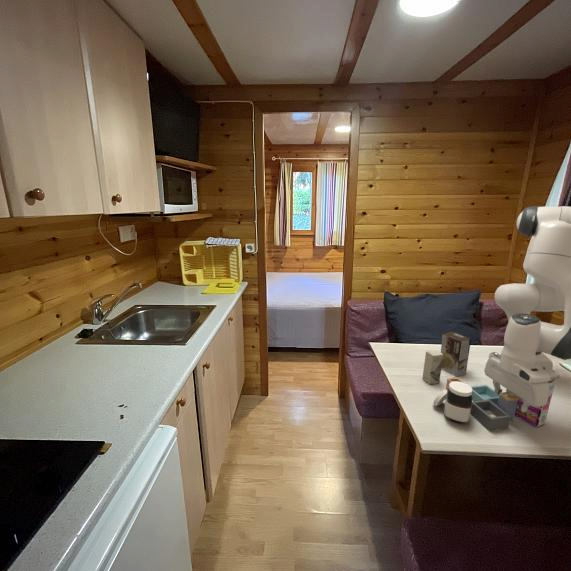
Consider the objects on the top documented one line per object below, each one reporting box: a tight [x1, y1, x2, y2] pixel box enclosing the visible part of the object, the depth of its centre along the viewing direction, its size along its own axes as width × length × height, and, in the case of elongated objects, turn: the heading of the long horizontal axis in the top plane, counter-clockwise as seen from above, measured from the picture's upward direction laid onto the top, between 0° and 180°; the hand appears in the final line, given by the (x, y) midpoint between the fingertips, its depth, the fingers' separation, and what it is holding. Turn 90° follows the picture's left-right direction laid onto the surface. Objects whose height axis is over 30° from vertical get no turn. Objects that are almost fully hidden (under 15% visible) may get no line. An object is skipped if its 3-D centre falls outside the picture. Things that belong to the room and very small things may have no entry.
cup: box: [445, 377, 465, 390], centre depth 119 cm, size 4×4×5 cm
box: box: [422, 349, 443, 385], centre depth 126 cm, size 5×4×13 cm
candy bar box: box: [505, 378, 556, 428], centre depth 104 cm, size 11×5×16 cm, turn 24°
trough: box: [470, 384, 500, 406], centre depth 114 cm, size 8×8×4 cm
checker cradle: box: [470, 400, 511, 432], centre depth 104 cm, size 7×10×4 cm
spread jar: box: [432, 381, 473, 424], centre depth 106 cm, size 12×11×12 cm
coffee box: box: [440, 331, 472, 377], centre depth 133 cm, size 9×6×16 cm
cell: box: [498, 391, 518, 423], centre depth 104 cm, size 4×4×10 cm
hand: (509, 401), depth 103 cm, fingers open, 8 cm apart
